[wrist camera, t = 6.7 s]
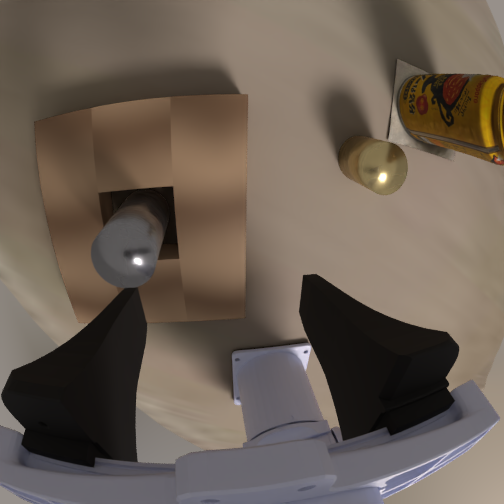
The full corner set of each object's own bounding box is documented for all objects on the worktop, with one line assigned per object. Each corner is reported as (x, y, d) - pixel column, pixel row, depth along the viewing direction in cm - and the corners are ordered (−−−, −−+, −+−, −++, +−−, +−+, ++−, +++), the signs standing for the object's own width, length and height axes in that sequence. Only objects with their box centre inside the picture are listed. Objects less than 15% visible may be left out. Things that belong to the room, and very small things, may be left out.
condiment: (395, 58, 17) (517, 51, 6) (460, 91, 18) (564, 110, 8) (386, 140, 20) (507, 181, 9) (451, 160, 22) (551, 204, 11)
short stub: (375, 181, 21) (403, 196, 18) (336, 179, 21) (361, 194, 17) (379, 138, 20) (410, 146, 16) (340, 133, 19) (367, 139, 16)
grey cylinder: (174, 231, 21) (163, 283, 15) (129, 239, 21) (103, 292, 14) (164, 184, 19) (146, 220, 13) (117, 194, 19) (82, 233, 13)
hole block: (241, 299, 24) (245, 317, 22) (86, 305, 22) (78, 322, 20) (242, 97, 17) (248, 94, 15) (51, 119, 15) (34, 121, 13)
